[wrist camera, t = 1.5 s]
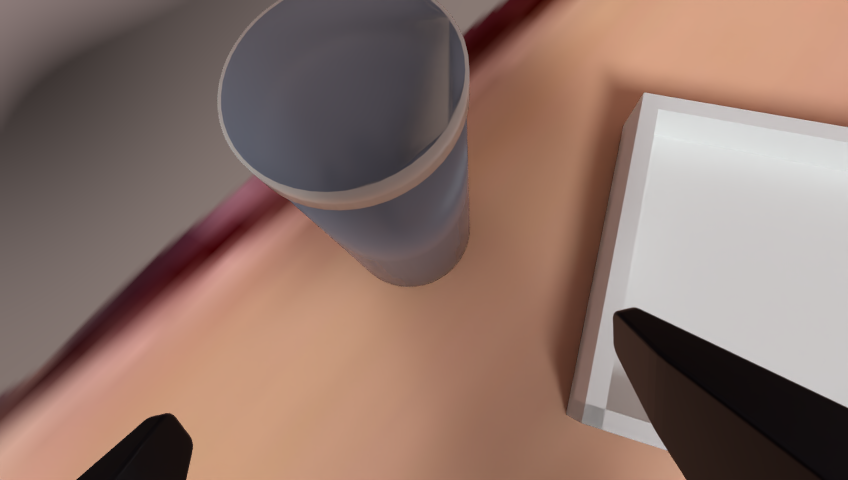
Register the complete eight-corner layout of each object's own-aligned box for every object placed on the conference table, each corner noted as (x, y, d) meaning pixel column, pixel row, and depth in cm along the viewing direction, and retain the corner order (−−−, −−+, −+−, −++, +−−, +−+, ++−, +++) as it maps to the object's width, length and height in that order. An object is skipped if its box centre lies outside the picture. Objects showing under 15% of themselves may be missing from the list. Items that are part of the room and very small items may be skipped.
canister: (452, 303, 22) (425, 225, 10) (335, 270, 23) (175, 162, 11) (485, 187, 24) (498, -8, 11) (373, 162, 25) (273, -38, 12)
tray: (910, 524, 17) (997, 556, 14) (566, 414, 20) (581, 423, 17) (911, 178, 21) (980, 149, 18) (623, 125, 24) (644, 92, 21)
